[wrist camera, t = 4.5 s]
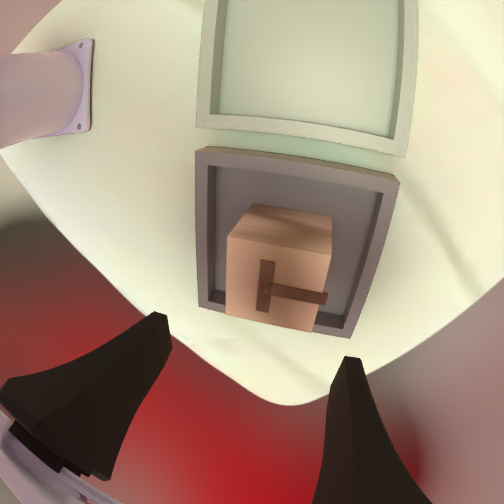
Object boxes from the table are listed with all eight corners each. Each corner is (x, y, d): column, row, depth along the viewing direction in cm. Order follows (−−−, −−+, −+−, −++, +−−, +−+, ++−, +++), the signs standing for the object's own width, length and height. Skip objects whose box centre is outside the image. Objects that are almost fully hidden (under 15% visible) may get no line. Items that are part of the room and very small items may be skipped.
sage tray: (208, 125, 17) (196, 127, 15) (221, -33, 11) (210, -43, 9) (397, 152, 14) (405, 157, 13) (409, -16, 9) (416, -27, 7)
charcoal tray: (207, 293, 23) (198, 306, 22) (207, 146, 17) (195, 150, 16) (350, 322, 21) (350, 338, 19) (393, 174, 15) (400, 182, 14)
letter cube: (248, 269, 21) (224, 315, 16) (253, 202, 18) (226, 237, 14) (321, 283, 20) (316, 334, 15) (336, 217, 17) (337, 258, 13)
